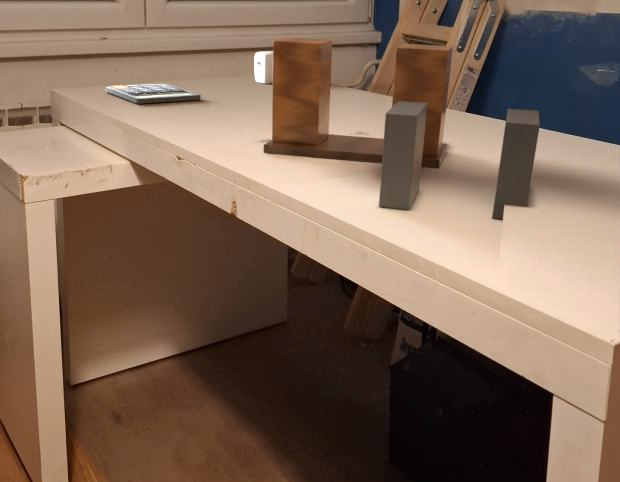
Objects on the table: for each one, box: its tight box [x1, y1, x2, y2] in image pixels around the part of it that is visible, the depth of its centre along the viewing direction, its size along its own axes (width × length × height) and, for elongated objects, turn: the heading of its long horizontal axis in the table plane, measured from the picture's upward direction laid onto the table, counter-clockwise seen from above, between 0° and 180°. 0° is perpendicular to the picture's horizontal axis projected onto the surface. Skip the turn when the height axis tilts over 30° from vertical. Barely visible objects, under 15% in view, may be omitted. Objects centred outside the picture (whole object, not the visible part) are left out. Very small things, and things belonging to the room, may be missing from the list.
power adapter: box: [254, 50, 273, 85], centre depth 154 cm, size 11×5×6 cm, turn 129°
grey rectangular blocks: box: [378, 101, 541, 220], centre depth 74 cm, size 14×8×9 cm, turn 75°
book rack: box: [263, 36, 454, 169], centre depth 94 cm, size 22×10×13 cm, turn 76°
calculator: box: [105, 83, 201, 104], centre depth 133 cm, size 12×1×15 cm
